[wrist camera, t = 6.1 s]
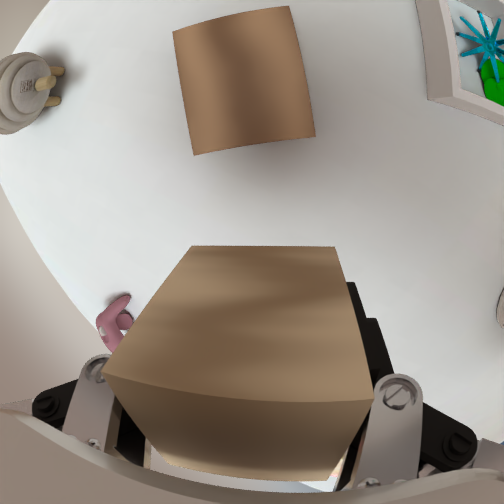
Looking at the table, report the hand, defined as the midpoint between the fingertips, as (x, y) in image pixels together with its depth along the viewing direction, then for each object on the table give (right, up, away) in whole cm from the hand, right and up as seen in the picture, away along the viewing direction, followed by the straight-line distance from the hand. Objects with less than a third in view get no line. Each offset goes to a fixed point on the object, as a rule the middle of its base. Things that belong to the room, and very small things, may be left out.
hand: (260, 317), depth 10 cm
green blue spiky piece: (+25, +23, +5) cm, 35 cm away
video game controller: (-17, -8, +27) cm, 32 cm away
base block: (-1, +18, +12) cm, 22 cm away
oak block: (0, 0, +1) cm, 1 cm away
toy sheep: (-28, +23, +13) cm, 39 cm away
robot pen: (+23, +24, +5) cm, 33 cm away
